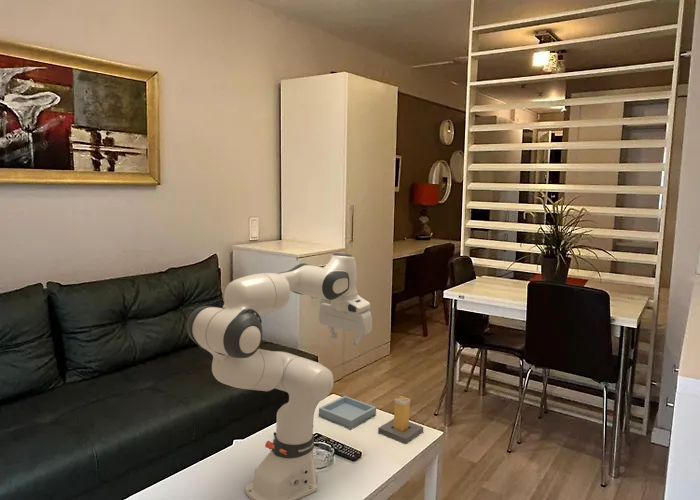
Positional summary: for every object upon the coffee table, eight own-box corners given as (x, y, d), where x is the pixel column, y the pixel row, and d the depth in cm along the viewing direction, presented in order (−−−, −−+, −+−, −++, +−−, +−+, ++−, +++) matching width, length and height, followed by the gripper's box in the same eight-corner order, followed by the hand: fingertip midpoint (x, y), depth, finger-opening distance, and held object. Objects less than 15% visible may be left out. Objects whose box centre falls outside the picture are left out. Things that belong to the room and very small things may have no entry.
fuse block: (405, 444, 183) (406, 438, 183) (378, 432, 191) (378, 427, 190) (423, 432, 193) (423, 427, 192) (396, 421, 200) (396, 417, 200)
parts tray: (350, 429, 192) (351, 420, 192) (318, 416, 202) (319, 408, 202) (375, 415, 205) (376, 407, 204) (344, 403, 215) (344, 395, 214)
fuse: (402, 436, 189) (404, 402, 187) (392, 432, 191) (394, 399, 190) (408, 432, 192) (410, 399, 190) (399, 428, 195) (400, 395, 193)
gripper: (314, 298, 173) (315, 337, 176) (362, 309, 161) (363, 351, 164) (326, 293, 178) (327, 331, 181) (374, 304, 165) (375, 344, 168)
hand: (345, 341), depth 172 cm, fingers open, 8 cm apart
